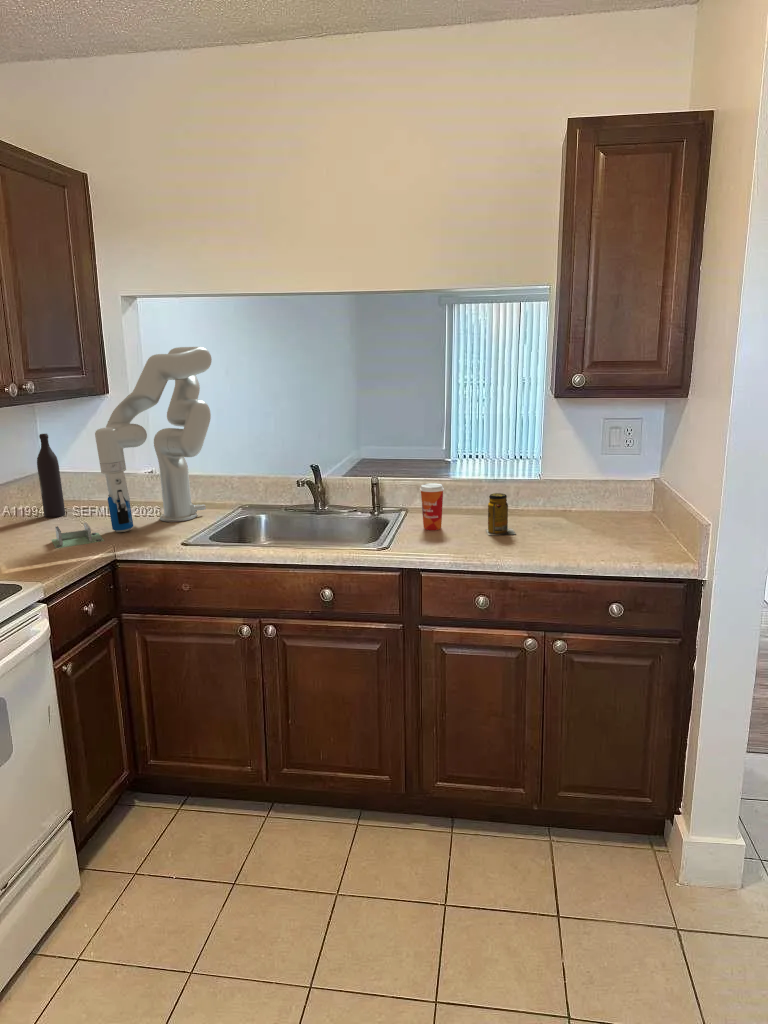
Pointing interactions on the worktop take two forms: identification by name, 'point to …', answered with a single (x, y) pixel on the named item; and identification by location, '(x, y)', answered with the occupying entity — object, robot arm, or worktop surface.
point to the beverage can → (114, 517)
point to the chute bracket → (73, 534)
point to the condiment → (498, 515)
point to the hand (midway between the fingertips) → (121, 520)
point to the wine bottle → (50, 480)
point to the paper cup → (432, 505)
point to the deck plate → (78, 541)
